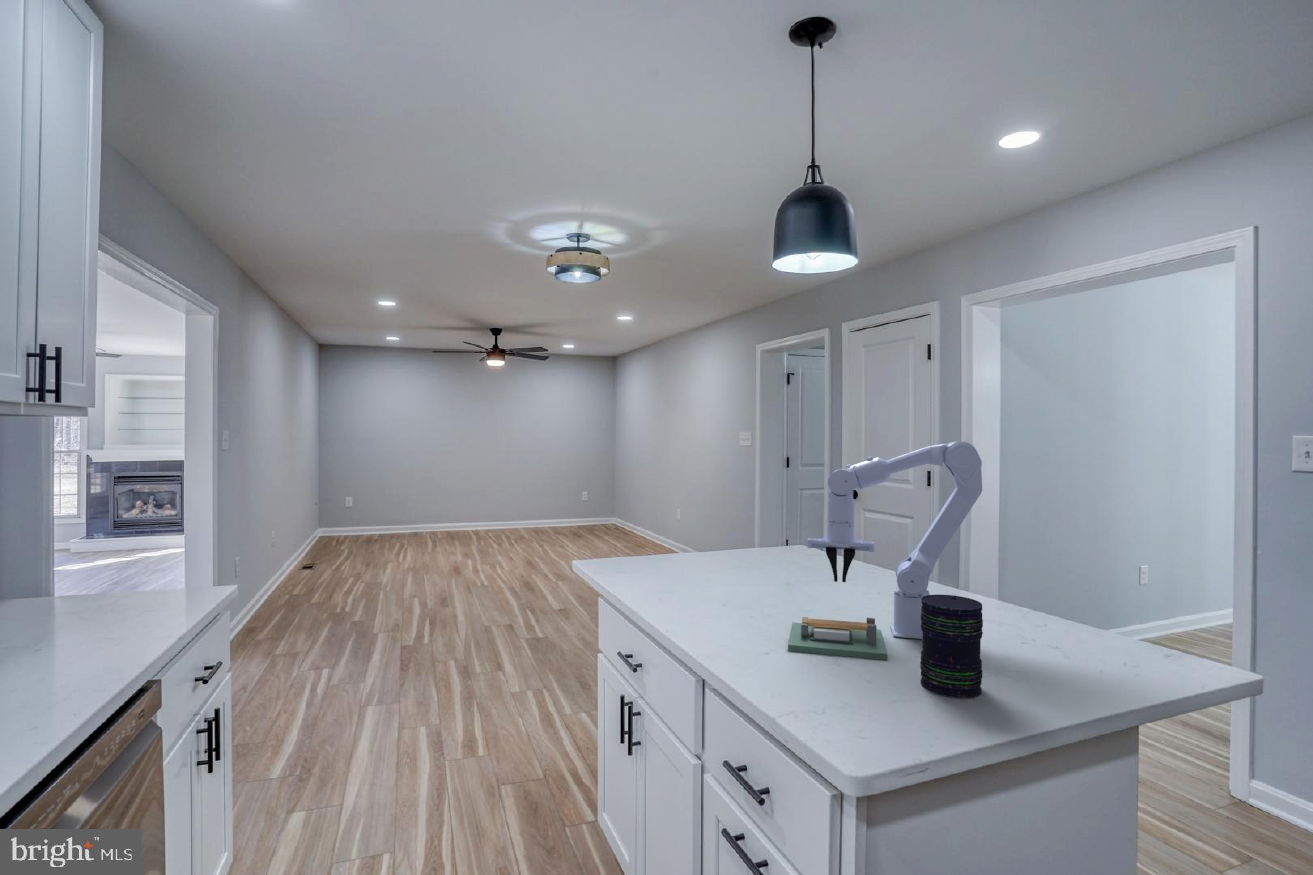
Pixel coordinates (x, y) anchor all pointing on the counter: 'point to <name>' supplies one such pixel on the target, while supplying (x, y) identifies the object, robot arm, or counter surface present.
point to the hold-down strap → (836, 624)
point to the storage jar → (951, 646)
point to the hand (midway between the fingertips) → (839, 581)
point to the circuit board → (838, 641)
